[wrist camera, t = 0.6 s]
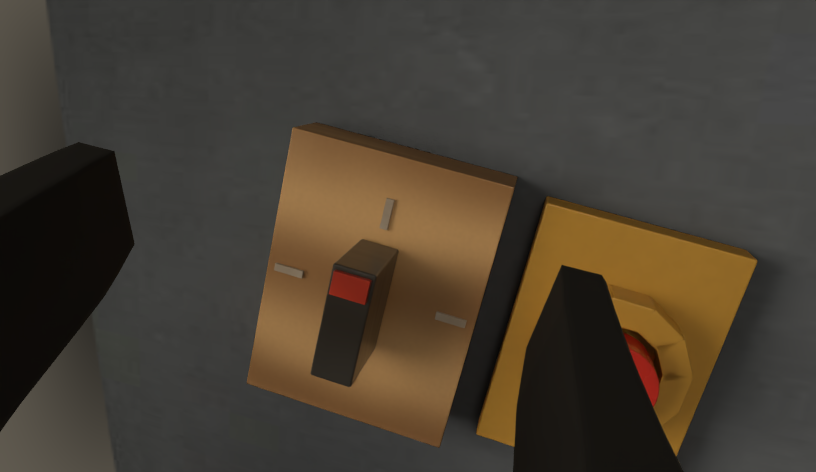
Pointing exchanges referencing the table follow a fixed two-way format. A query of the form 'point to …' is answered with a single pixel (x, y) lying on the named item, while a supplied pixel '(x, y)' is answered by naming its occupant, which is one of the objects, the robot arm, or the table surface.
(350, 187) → the panel
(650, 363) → the button
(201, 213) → the table surface
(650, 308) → the button block
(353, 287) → the black block
